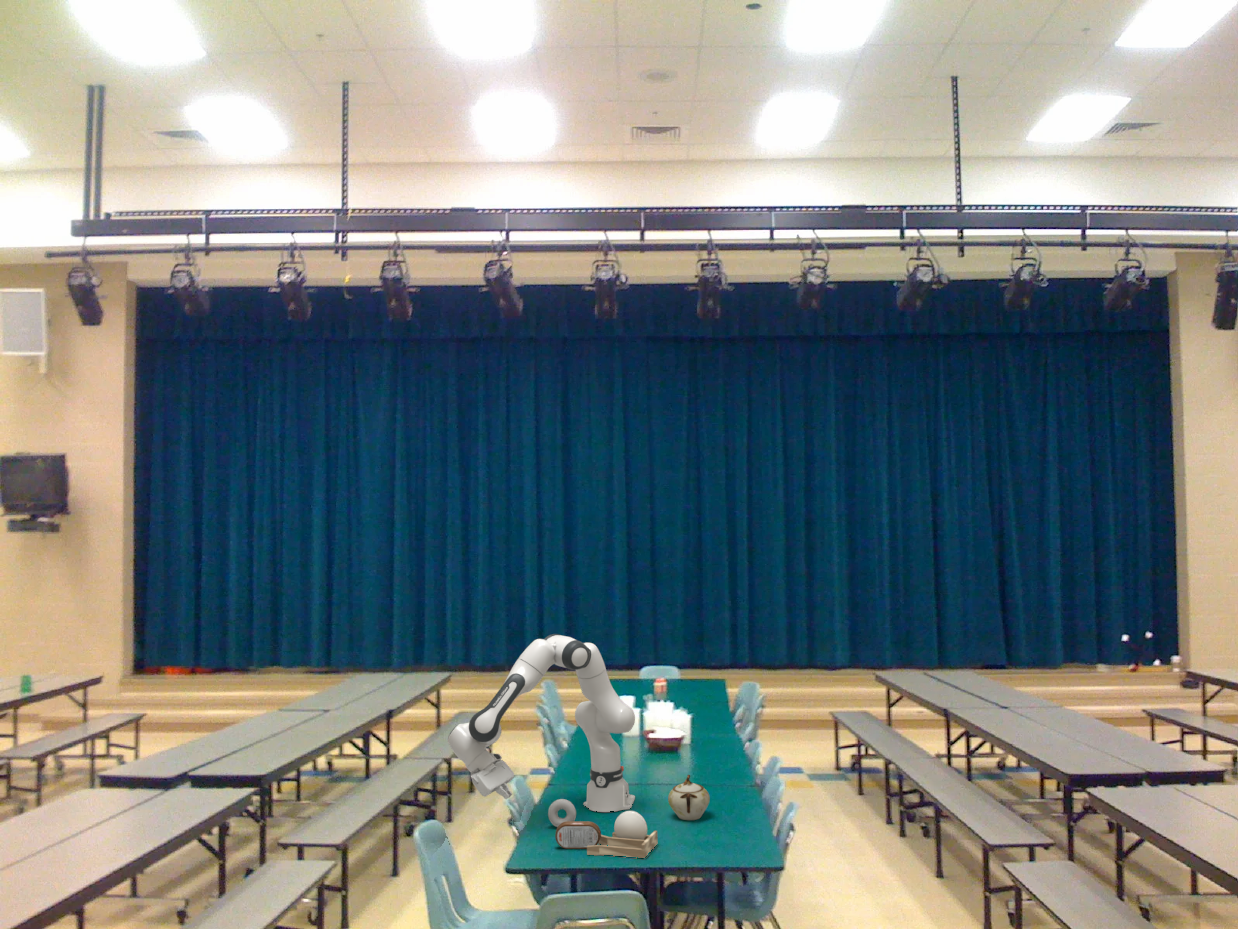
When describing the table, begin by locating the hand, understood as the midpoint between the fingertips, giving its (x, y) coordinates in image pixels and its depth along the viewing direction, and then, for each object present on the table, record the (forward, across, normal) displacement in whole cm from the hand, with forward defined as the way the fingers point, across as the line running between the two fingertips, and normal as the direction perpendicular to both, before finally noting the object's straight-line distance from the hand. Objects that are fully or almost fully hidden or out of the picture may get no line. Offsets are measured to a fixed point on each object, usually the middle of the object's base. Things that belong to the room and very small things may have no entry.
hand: (509, 797), depth 322 cm
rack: (+38, +2, -17) cm, 42 cm away
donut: (+19, +18, +2) cm, 26 cm away
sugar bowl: (+47, +41, -26) cm, 68 cm away
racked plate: (+39, +7, -18) cm, 44 cm away
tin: (+28, 0, -7) cm, 29 cm away
